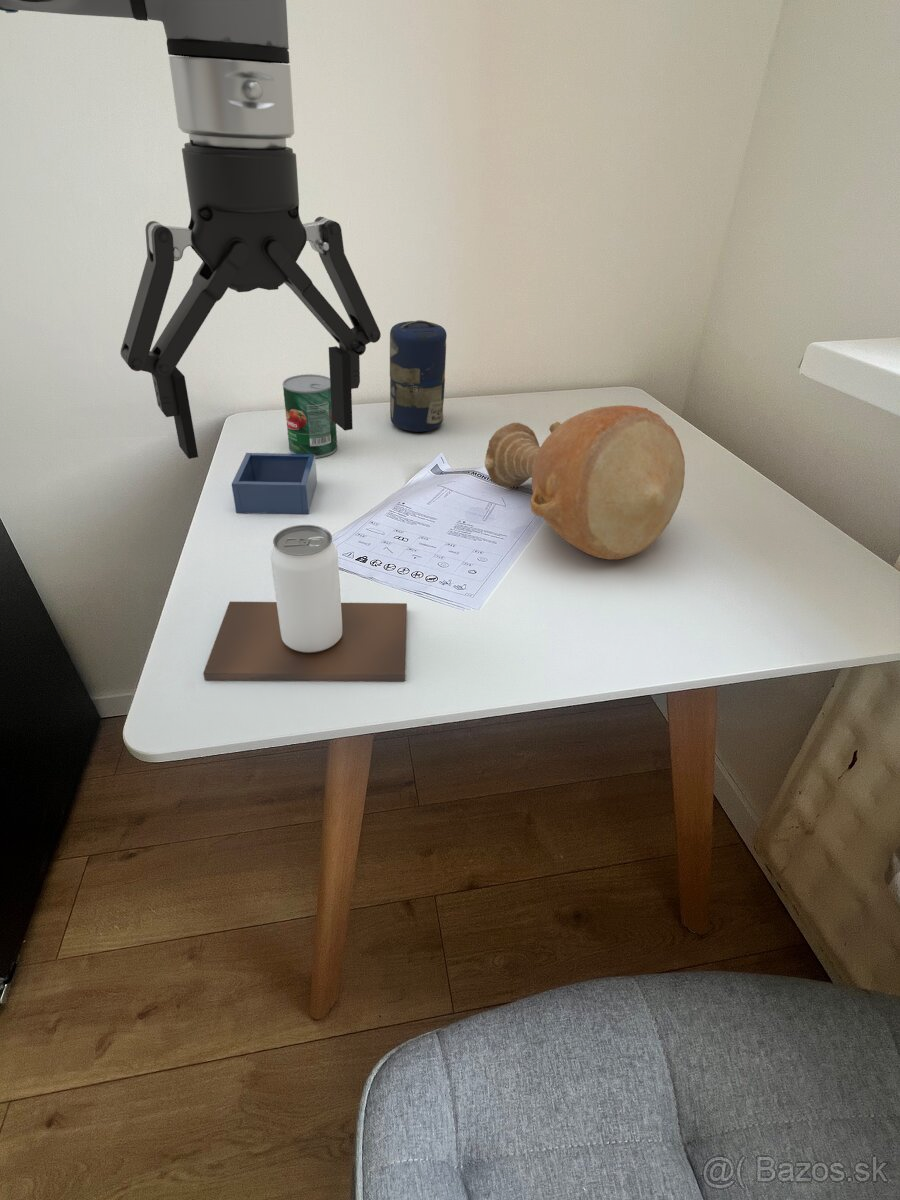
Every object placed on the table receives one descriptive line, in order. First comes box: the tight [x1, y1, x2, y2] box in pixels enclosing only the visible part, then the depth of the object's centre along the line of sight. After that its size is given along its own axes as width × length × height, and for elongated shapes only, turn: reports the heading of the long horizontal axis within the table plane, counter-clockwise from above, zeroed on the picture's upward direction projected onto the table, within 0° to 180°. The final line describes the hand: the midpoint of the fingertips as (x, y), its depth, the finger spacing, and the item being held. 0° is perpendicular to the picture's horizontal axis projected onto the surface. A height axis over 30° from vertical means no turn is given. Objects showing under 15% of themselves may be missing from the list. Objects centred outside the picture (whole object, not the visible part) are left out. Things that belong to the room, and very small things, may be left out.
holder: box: [231, 452, 318, 515], centre depth 100 cm, size 10×10×4 cm
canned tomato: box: [282, 373, 338, 459], centre depth 112 cm, size 8×8×11 cm
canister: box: [389, 319, 448, 433], centre depth 119 cm, size 10×10×18 cm
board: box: [202, 601, 408, 682], centre depth 75 cm, size 20×12×1 cm, turn 92°
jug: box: [484, 404, 686, 560], centre depth 93 cm, size 20×19×30 cm
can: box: [270, 524, 342, 653], centre depth 71 cm, size 6×6×12 cm
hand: (269, 438), depth 60 cm, fingers open, 13 cm apart
